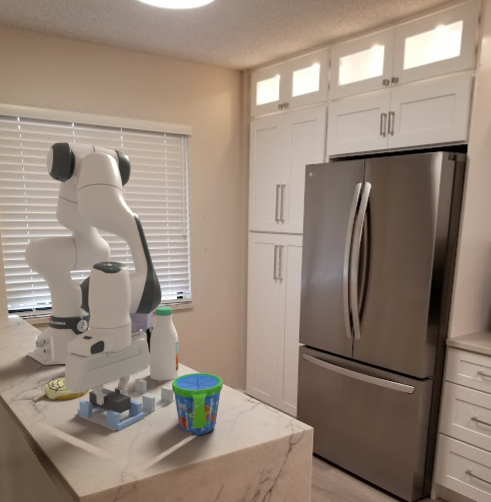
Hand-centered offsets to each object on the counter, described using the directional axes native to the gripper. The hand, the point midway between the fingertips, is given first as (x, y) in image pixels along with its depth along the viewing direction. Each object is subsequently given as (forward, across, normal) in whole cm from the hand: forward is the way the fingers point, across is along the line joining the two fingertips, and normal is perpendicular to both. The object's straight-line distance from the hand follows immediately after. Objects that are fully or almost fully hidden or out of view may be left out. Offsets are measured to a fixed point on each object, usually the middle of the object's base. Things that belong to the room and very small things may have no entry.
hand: (111, 399), depth 93 cm
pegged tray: (+5, -5, 0) cm, 7 cm away
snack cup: (+5, -8, +18) cm, 20 cm away
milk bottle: (+5, -25, -8) cm, 27 cm away
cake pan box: (+5, -26, -26) cm, 37 cm away
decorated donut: (+5, -3, -20) cm, 21 cm away
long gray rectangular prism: (+2, 0, 0) cm, 2 cm away
